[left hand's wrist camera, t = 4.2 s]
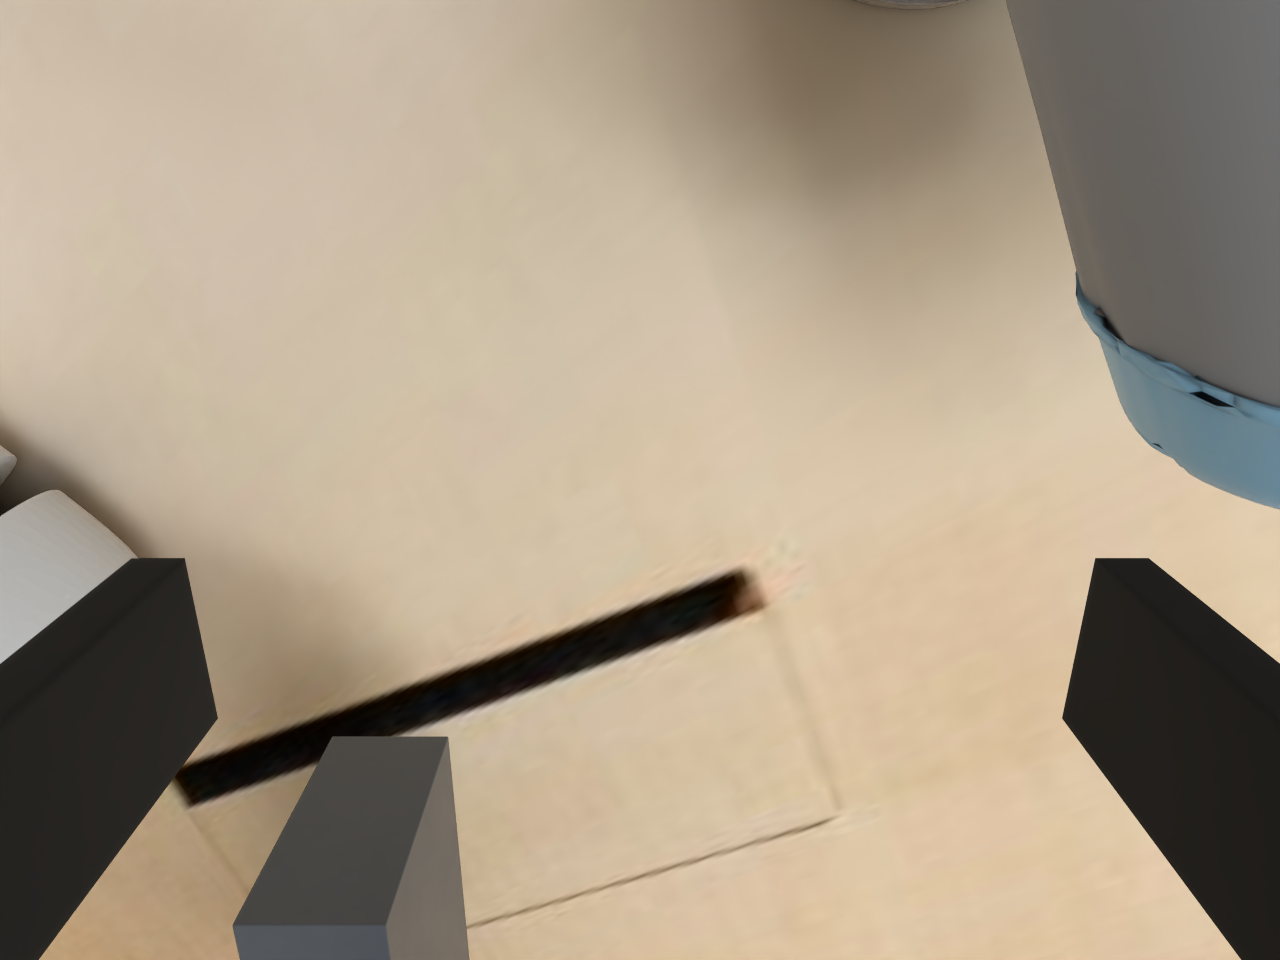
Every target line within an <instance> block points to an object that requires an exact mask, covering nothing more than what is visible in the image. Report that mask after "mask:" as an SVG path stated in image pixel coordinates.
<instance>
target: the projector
mask: <svg viewBox="0 0 1280 960" xmlns="http://www.w3.org/2000/svg"><path fill="white" fill-rule="evenodd" d="M16 462H17V458H16V457H15V456H14V455H13V454H11V453H10V452H9V451H7V450H6V449H5V448H3V447H2V446H1V445H0V485H1V484H2V483H3V482H4V481H5V479H6V478H7V477H8V476H9V474H10V473H11V472H12V470H13V468H14V467H15V465H16ZM131 558H138V557H137V556H136V555H135V554H134V553H133V552H132V551H131V550H130V548H129V547H128V546H127V545H126V544H125V543H124V542H122V541H121V540H120V539H119V538H118V537H117V536H116V535H115V534H113V533H112V532H111V531H110V530H109V529H108V528H107V527H105V526H104V525H103V524H102V523H101V522H99V521H98V520H97V519H96V518H94V517H93V516H92V515H91V514H90V513H88V512H87V511H86V510H85V509H83V508H82V507H81V506H79V505H78V504H77V503H76V502H74V501H73V500H72V499H70V498H69V497H68V496H67V495H65V494H64V493H63V492H61V491H59V490H49V491H46V492H43V493H40V494H38V495H35V496H34V497H32V498H30V499H28V500H26V501H24V502H22V503H21V504H19V505H17V506H15V507H14V508H12V509H11V510H9V511H8V512H6V513H4V514H3V515H1V516H0V664H1V663H2V662H3V661H4V660H6V659H7V658H8V657H9V656H11V655H12V654H13V653H14V652H16V651H17V650H18V649H19V648H20V647H22V646H23V645H24V644H25V643H27V642H28V641H29V640H30V639H32V638H33V637H34V636H35V635H37V634H38V633H39V632H40V631H42V630H43V629H44V628H45V627H47V626H48V625H49V624H50V623H52V622H53V621H54V620H55V619H57V618H58V617H59V616H60V615H62V614H63V613H64V612H65V611H67V610H68V609H69V608H70V607H71V606H73V605H74V604H75V603H76V602H78V601H79V600H80V599H81V598H83V597H84V596H85V595H86V594H88V593H89V592H90V591H91V590H93V589H94V588H95V587H96V586H98V585H99V584H100V583H101V582H103V581H104V580H105V579H106V578H108V577H109V576H110V575H111V574H113V573H114V572H115V571H116V570H118V569H119V568H120V567H121V566H123V565H124V564H125V563H126V562H127V561H129V560H130V559H131Z"/></svg>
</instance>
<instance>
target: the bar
mask: <svg viewBox="0 0 1280 960" xmlns="http://www.w3.org/2000/svg"><path fill="white" fill-rule="evenodd" d="M233 930H234V934H235V939H236V943H237V948H238V952H239V957H240V960H469V951H468V941H467V930H466V920H465V909H464V899H463V888H462V878H461V867H460V857H459V846H458V836H457V825H456V815H455V804H454V794H453V783H452V773H451V763H450V752H449V742H448V737H332V738H331V740H330V742H329V744H328V746H327V748H326V750H325V752H324V754H323V755H322V757H321V759H320V761H319V763H318V765H317V767H316V769H315V771H314V772H313V774H312V776H311V778H310V780H309V782H308V784H307V786H306V788H305V789H304V791H303V793H302V795H301V797H300V799H299V801H298V803H297V805H296V806H295V808H294V810H293V812H292V814H291V816H290V818H289V820H288V822H287V823H286V825H285V827H284V829H283V831H282V833H281V835H280V837H279V839H278V840H277V842H276V844H275V846H274V848H273V850H272V852H271V854H270V856H269V857H268V859H267V861H266V863H265V865H264V867H263V869H262V871H261V873H260V874H259V876H258V878H257V880H256V882H255V884H254V886H253V888H252V890H251V891H250V893H249V895H248V897H247V899H246V901H245V903H244V905H243V907H242V908H241V910H240V912H239V914H238V916H237V918H236V920H235V922H234V924H233Z"/></svg>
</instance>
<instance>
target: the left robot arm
mask: <svg viewBox="0 0 1280 960" xmlns="http://www.w3.org/2000/svg"><path fill="white" fill-rule="evenodd" d="M855 1H858V2H862V3H866V4H870V5H874V6H879V7H886V8H894V9H926V8H936V7H942V6H947V5H952V4H957V3H960V2H964V1H967V0H855ZM1006 3H1007V6H1008V10H1009V14H1010V17H1011V21H1012V25H1013V28H1014V32H1015V36H1016V39H1017V43H1018V47H1019V50H1020V54H1021V58H1022V61H1023V65H1024V69H1025V72H1026V76H1027V80H1028V83H1029V87H1030V91H1031V94H1032V98H1033V102H1034V105H1035V109H1036V113H1037V116H1038V120H1039V124H1040V128H1041V132H1042V136H1043V140H1044V143H1045V147H1046V151H1047V155H1048V159H1049V163H1050V167H1051V171H1052V175H1053V179H1054V183H1055V187H1056V191H1057V195H1058V199H1059V203H1060V207H1061V211H1062V215H1063V219H1064V222H1065V226H1066V230H1067V234H1068V238H1069V242H1070V246H1071V250H1072V254H1073V258H1074V262H1075V266H1076V296H1077V301H1078V305H1079V308H1080V310H1081V312H1082V315H1083V317H1084V319H1085V320H1086V322H1087V323H1088V325H1089V326H1090V328H1091V329H1092V331H1093V332H1094V333H1095V334H1096V335H1097V336H1098V337H1099V340H1100V343H1101V346H1102V349H1103V352H1104V355H1105V358H1106V361H1107V364H1108V367H1109V370H1110V373H1111V376H1112V379H1113V382H1114V386H1115V389H1116V392H1117V395H1118V398H1119V400H1120V403H1121V405H1122V407H1123V410H1124V412H1125V414H1126V415H1127V417H1128V419H1129V420H1130V422H1131V423H1132V425H1133V426H1134V428H1135V429H1136V431H1137V432H1138V433H1139V434H1140V435H1141V436H1142V437H1143V439H1144V440H1145V441H1146V442H1147V443H1148V444H1149V445H1150V446H1151V447H1153V448H1155V449H1156V450H1158V451H1160V452H1161V453H1163V454H1165V455H1167V456H1169V457H1171V458H1173V459H1174V460H1175V461H1176V462H1177V463H1178V465H1179V466H1181V467H1183V468H1184V469H1185V470H1186V471H1187V472H1188V473H1189V474H1191V475H1192V476H1194V477H1196V478H1198V479H1199V480H1201V481H1203V482H1205V483H1207V484H1210V485H1212V486H1214V487H1216V488H1218V489H1221V490H1223V491H1226V492H1228V493H1231V494H1233V495H1236V496H1238V497H1241V498H1244V499H1247V500H1250V501H1253V502H1255V503H1259V504H1262V505H1266V506H1269V507H1273V508H1276V509H1280V0H1006ZM217 719H218V717H217V712H216V707H215V703H214V698H213V693H212V688H211V683H210V678H209V674H208V669H207V664H206V659H205V654H204V649H203V645H202V640H201V635H200V630H199V625H198V621H197V616H196V611H195V606H194V601H193V596H192V592H191V587H190V582H189V577H188V572H187V568H186V563H185V558H131V559H130V560H129V561H127V562H126V563H125V564H124V565H123V566H121V567H120V568H119V569H118V570H116V571H115V572H114V573H113V574H111V575H110V576H109V577H108V578H106V579H105V580H104V581H103V582H101V583H100V584H99V585H98V586H96V587H95V588H94V589H93V590H91V591H90V592H89V593H88V594H86V595H85V596H84V597H83V598H81V599H80V600H79V601H78V602H76V603H75V604H74V605H73V606H71V607H70V608H69V609H68V610H67V611H65V612H64V613H63V614H62V615H60V616H59V617H58V618H57V619H55V620H54V621H53V622H52V623H50V624H49V625H48V626H47V627H45V628H44V629H43V630H42V631H40V632H39V633H38V634H37V635H35V636H34V637H33V638H32V639H30V640H29V641H28V642H27V643H25V644H24V645H23V646H22V647H20V648H19V649H18V650H17V651H16V652H14V653H13V654H12V655H11V656H9V657H8V658H7V659H6V660H4V661H3V662H2V663H1V664H0V960H39V959H40V957H41V956H42V954H43V953H44V952H45V950H46V949H47V948H48V946H49V945H50V944H51V942H52V941H53V940H54V938H55V937H56V936H57V934H58V933H59V932H60V930H61V929H62V928H63V926H64V925H65V924H66V922H67V921H68V919H69V918H70V917H71V915H72V914H73V913H74V911H75V910H76V909H77V907H78V906H79V905H80V903H81V902H82V901H83V899H84V898H85V897H86V895H87V894H88V893H89V891H90V890H91V888H92V887H93V886H94V884H95V883H96V882H97V880H98V879H99V878H100V876H101V875H102V874H103V872H104V871H105V870H106V868H107V867H108V866H109V864H110V863H111V862H112V860H113V859H114V857H115V856H116V855H117V853H118V852H119V851H120V849H121V848H122V847H123V845H124V844H125V843H126V841H127V840H128V839H129V837H130V836H131V835H132V833H133V832H134V831H135V829H136V828H137V827H138V825H139V824H140V822H141V821H142V820H143V818H144V817H145V816H146V814H147V813H148V812H149V810H150V809H151V808H152V806H153V805H154V804H155V802H156V801H157V800H158V798H159V797H160V796H161V794H162V793H163V791H164V790H165V789H166V787H167V786H168V785H169V783H170V782H171V781H172V779H173V778H174V777H175V775H176V774H177V773H178V771H179V770H180V769H181V767H182V766H183V765H184V763H185V762H186V760H187V759H188V758H189V756H190V755H191V754H192V752H193V751H194V750H195V748H196V747H197V746H198V744H199V743H200V742H201V740H202V739H203V738H204V736H205V735H206V734H207V732H208V731H209V730H210V728H211V727H212V725H213V724H214V723H215V721H216V720H217ZM1062 719H1063V720H1064V721H1065V723H1066V724H1067V725H1068V727H1069V728H1070V730H1071V731H1072V732H1073V734H1074V735H1075V736H1076V738H1077V739H1078V740H1079V742H1080V743H1081V744H1082V746H1083V747H1084V748H1085V750H1086V751H1087V752H1088V754H1089V755H1090V756H1091V758H1092V759H1093V760H1094V762H1095V763H1096V765H1097V766H1098V767H1099V769H1100V770H1101V771H1102V773H1103V774H1104V775H1105V777H1106V778H1107V779H1108V781H1109V782H1110V783H1111V785H1112V786H1113V787H1114V789H1115V790H1116V791H1117V793H1118V794H1119V796H1120V797H1121V798H1122V800H1123V801H1124V802H1125V804H1126V805H1127V806H1128V808H1129V809H1130V810H1131V812H1132V813H1133V814H1134V816H1135V817H1136V818H1137V820H1138V821H1139V822H1140V824H1141V825H1142V827H1143V828H1144V829H1145V831H1146V832H1147V833H1148V835H1149V836H1150V837H1151V839H1152V840H1153V841H1154V843H1155V844H1156V845H1157V847H1158V848H1159V849H1160V851H1161V852H1162V853H1163V855H1164V856H1165V857H1166V859H1167V860H1168V862H1169V863H1170V864H1171V866H1172V867H1173V868H1174V870H1175V871H1176V872H1177V874H1178V875H1179V876H1180V878H1181V879H1182V880H1183V882H1184V883H1185V884H1186V886H1187V887H1188V888H1189V890H1190V891H1191V893H1192V894H1193V895H1194V897H1195V898H1196V899H1197V901H1198V902H1199V903H1200V905H1201V906H1202V907H1203V909H1204V910H1205V911H1206V913H1207V914H1208V915H1209V917H1210V918H1211V919H1212V921H1213V922H1214V924H1215V925H1216V926H1217V928H1218V929H1219V930H1220V932H1221V933H1222V934H1223V936H1224V937H1225V938H1226V940H1227V941H1228V942H1229V944H1230V945H1231V946H1232V948H1233V949H1234V950H1235V952H1236V953H1237V954H1238V956H1239V957H1240V959H1241V960H1280V664H1279V663H1278V662H1277V661H1276V660H1274V659H1273V658H1272V657H1271V656H1269V655H1268V654H1267V653H1266V652H1264V651H1263V650H1262V649H1261V648H1260V647H1258V646H1257V645H1256V644H1255V643H1253V642H1252V641H1251V640H1250V639H1248V638H1247V637H1246V636H1245V635H1243V634H1242V633H1241V632H1240V631H1238V630H1237V629H1236V628H1235V627H1233V626H1232V625H1231V624H1230V623H1228V622H1227V621H1226V620H1225V619H1223V618H1222V617H1221V616H1220V615H1218V614H1217V613H1216V612H1215V611H1213V610H1212V609H1211V608H1210V607H1209V606H1207V605H1206V604H1205V603H1204V602H1202V601H1201V600H1200V599H1199V598H1197V597H1196V596H1195V595H1194V594H1192V593H1191V592H1190V591H1189V590H1187V589H1186V588H1185V587H1184V586H1182V585H1181V584H1180V583H1179V582H1177V581H1176V580H1175V579H1174V578H1172V577H1171V576H1170V575H1169V574H1167V573H1166V572H1165V571H1164V570H1162V569H1161V568H1160V567H1159V566H1157V565H1156V564H1155V563H1154V562H1153V561H1151V560H1150V559H1149V558H1095V563H1094V568H1093V572H1092V577H1091V582H1090V587H1089V592H1088V596H1087V601H1086V606H1085V611H1084V616H1083V621H1082V625H1081V630H1080V635H1079V640H1078V645H1077V649H1076V654H1075V659H1074V664H1073V669H1072V674H1071V678H1070V683H1069V688H1068V693H1067V698H1066V703H1065V707H1064V712H1063V717H1062Z"/></svg>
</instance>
